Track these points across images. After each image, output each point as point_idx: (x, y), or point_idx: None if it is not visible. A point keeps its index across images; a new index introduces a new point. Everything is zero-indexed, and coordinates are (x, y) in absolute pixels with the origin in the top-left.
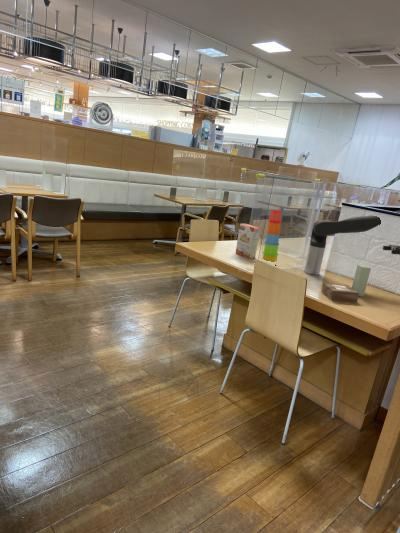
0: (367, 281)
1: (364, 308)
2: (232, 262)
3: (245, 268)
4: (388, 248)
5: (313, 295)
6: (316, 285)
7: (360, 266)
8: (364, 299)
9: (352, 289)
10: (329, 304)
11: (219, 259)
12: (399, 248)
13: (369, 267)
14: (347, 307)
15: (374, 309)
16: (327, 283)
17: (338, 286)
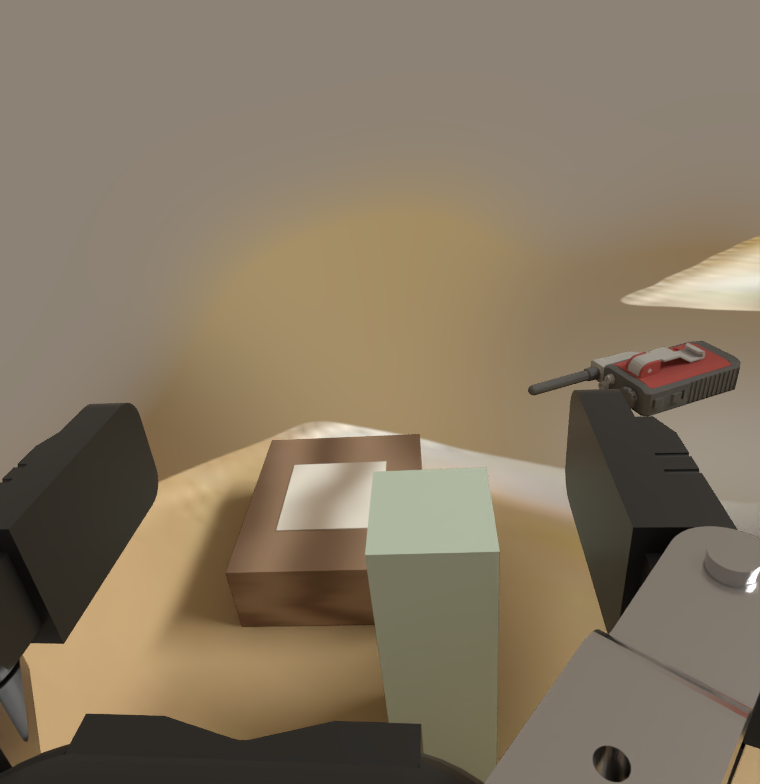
0: (382, 677)
1: (127, 626)
2: (736, 277)
3: (667, 300)
4: (607, 551)
5: (346, 436)
6: (554, 492)
7: (413, 472)
8: None
9: (308, 558)
10: (220, 465)
11: (743, 257)
12: (262, 768)
13: (390, 547)
14: (166, 530)
15: (88, 699)
16: (414, 450)
17: (358, 487)
